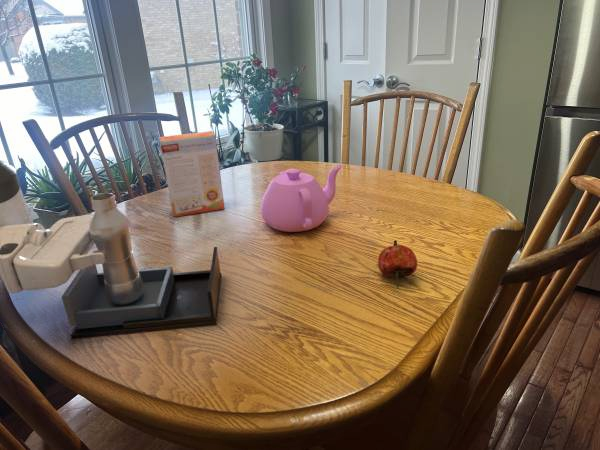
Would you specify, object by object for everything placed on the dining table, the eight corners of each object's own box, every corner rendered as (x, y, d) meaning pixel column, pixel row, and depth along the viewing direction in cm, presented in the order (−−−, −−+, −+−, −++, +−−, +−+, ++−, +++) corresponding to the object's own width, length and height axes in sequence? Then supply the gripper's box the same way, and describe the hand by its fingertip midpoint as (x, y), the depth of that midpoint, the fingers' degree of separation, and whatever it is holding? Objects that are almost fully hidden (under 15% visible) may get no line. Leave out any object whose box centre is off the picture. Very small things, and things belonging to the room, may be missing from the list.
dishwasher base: (71, 339, 72) (60, 305, 69) (100, 286, 87) (92, 256, 84) (216, 325, 74) (211, 291, 71) (221, 276, 89) (217, 246, 86)
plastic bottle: (115, 314, 76) (87, 207, 67) (103, 297, 80) (76, 196, 72) (151, 300, 79) (129, 197, 71) (138, 285, 84) (115, 186, 76)
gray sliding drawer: (71, 329, 73) (61, 296, 70) (96, 287, 85) (88, 257, 82) (163, 321, 74) (156, 288, 72) (174, 280, 86) (169, 250, 84)
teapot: (361, 229, 106) (363, 175, 100) (276, 246, 100) (272, 189, 94) (325, 199, 125) (325, 152, 119) (252, 212, 118) (247, 162, 113)
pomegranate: (417, 296, 84) (419, 248, 88) (414, 282, 78) (416, 232, 82) (379, 294, 86) (382, 248, 91) (373, 280, 80) (377, 232, 85)
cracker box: (221, 202, 126) (212, 130, 117) (225, 209, 121) (216, 134, 112) (171, 209, 122) (158, 135, 113) (173, 217, 117) (159, 140, 108)
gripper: (58, 239, 84) (132, 233, 85) (4, 299, 65) (99, 291, 66) (49, 209, 81) (125, 203, 82) (-10, 263, 63) (89, 255, 64)
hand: (113, 243), depth 74 cm, fingers open, 8 cm apart
